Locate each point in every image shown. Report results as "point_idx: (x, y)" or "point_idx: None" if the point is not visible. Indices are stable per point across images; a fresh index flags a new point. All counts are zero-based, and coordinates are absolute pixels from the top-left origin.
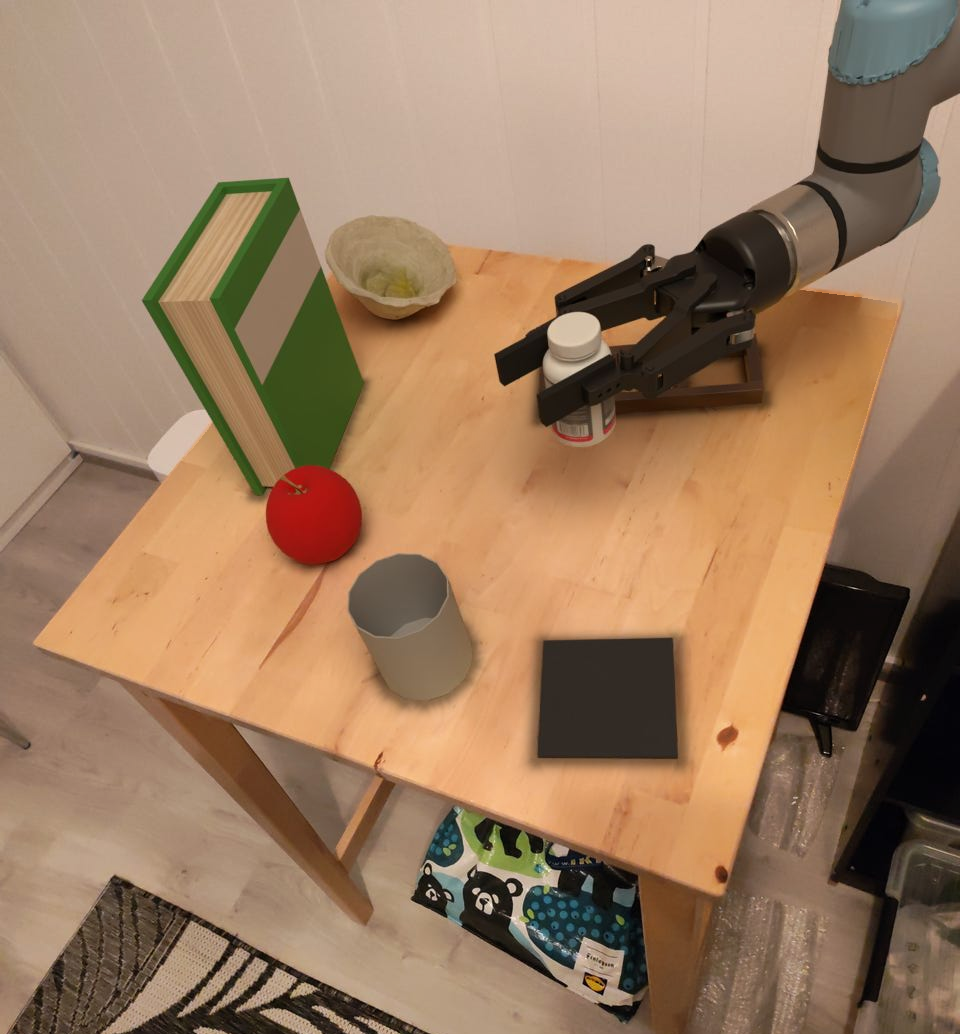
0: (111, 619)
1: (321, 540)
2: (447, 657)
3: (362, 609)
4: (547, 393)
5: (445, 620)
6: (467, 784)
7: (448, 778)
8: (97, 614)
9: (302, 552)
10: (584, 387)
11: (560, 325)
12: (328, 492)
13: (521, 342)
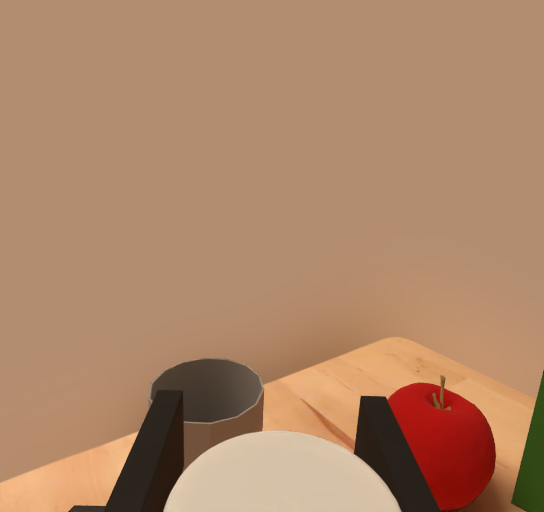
0: (401, 355)
1: None
2: None
3: (247, 399)
4: (161, 403)
5: None
6: (68, 464)
7: (89, 456)
8: (409, 351)
9: None
10: (100, 506)
11: (340, 486)
12: (422, 420)
13: (400, 453)
